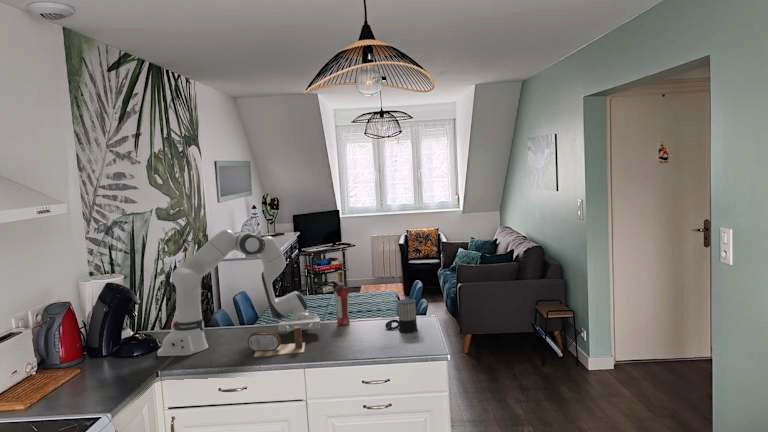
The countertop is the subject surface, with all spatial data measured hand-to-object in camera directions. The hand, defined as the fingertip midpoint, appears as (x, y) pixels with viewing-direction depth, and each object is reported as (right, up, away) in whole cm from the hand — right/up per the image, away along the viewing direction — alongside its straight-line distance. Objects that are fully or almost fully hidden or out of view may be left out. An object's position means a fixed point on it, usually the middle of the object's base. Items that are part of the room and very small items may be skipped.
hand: (299, 329), depth 273 cm
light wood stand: (-7, -7, -11) cm, 15 cm away
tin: (-14, -8, -12) cm, 20 cm away
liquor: (+19, -3, +25) cm, 32 cm away
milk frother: (+49, -3, +9) cm, 50 cm away
